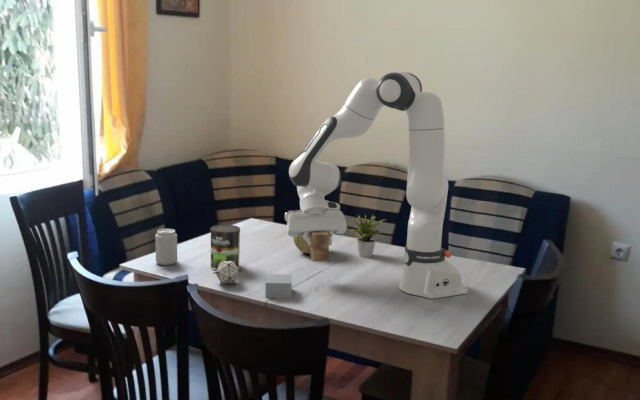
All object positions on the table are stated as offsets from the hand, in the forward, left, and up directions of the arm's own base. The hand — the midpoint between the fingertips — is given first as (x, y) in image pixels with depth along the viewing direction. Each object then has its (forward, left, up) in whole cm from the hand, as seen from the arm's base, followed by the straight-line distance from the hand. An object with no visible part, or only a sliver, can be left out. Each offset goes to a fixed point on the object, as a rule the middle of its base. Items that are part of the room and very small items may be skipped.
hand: (320, 245), depth 212 cm
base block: (+15, +9, -13) cm, 22 cm away
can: (+49, -26, -13) cm, 57 cm away
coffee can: (+29, -19, -13) cm, 37 cm away
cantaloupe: (-5, -31, -13) cm, 34 cm away
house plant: (-25, -24, -13) cm, 37 cm away
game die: (+30, -2, -13) cm, 33 cm away
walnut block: (0, -1, -5) cm, 5 cm away
